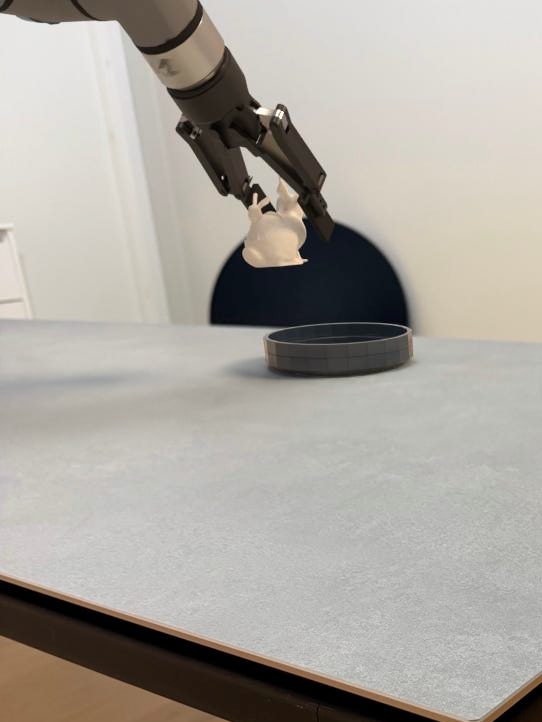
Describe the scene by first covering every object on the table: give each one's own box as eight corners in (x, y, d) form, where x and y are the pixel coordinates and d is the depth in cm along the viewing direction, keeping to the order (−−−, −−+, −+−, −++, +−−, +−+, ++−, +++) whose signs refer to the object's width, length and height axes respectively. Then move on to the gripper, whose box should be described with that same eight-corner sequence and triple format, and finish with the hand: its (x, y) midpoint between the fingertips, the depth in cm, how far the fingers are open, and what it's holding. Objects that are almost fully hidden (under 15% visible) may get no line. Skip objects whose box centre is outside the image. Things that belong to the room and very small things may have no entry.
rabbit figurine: (300, 261, 121) (290, 177, 116) (346, 261, 117) (337, 173, 113) (230, 270, 112) (216, 178, 108) (277, 269, 108) (264, 174, 104)
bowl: (237, 373, 122) (233, 341, 120) (318, 349, 137) (315, 320, 136) (367, 382, 115) (365, 347, 113) (437, 355, 130) (436, 325, 129)
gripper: (106, 99, 98) (228, 257, 118) (262, 88, 90) (363, 259, 111) (133, 44, 100) (248, 209, 120) (288, 29, 92) (382, 207, 113)
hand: (303, 232), depth 115 cm, fingers closed on rabbit figurine, 6 cm apart
